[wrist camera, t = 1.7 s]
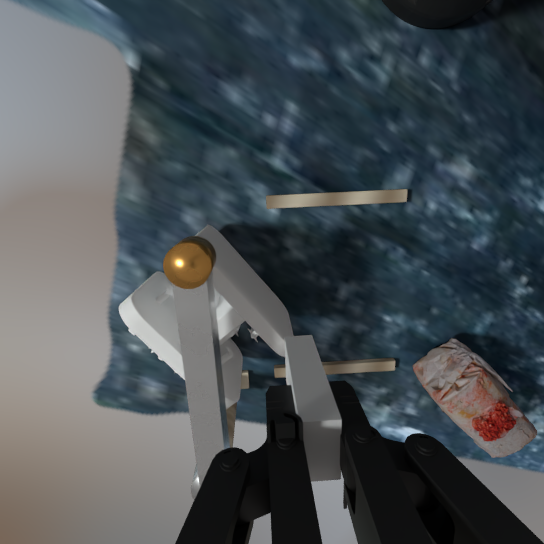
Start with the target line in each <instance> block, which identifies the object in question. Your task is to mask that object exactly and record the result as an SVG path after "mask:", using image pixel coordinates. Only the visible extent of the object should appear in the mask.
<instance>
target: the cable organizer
mask: <svg viewBox="0 0 544 544" xmlns="http://www.w3.org/2000/svg"><path fill="white" fill-rule="evenodd" d="M196 236H199V237H202V238H205V239H206V240H208V241H209V242H210V243H211V244H212V245H213V247H214V249H215V252H216V263H215V265H214V267H213V269H212V272H213V282H214V292H215V302H216V312H217V322H218V332H219V342H220V353H221V363H222V373H223V383H224V393H225V403H226V409H228V408H229V407H230V406H232V405H233V404H234V403H236V402H237V401H238V400H239V398H240V386H241V374H242V362H243V357H242V354H241V352H240V350H239V348H238V347H237V345H236V344H235V343H234V342H233V340H232V339H231V337H232V336H233V335H235V334H236V335H237V336H238V333H237V332H238V331H239V328H240V325H241V324H242V323H243V322H244V321H246V322H247V323H248V324H249V325H250V326H251V327H252V328H253V329H252V328H251V330H249V329H248V328H247V329H248V330H249V332H250V333H251V338H254V339H255V340H256V341H257V339H256V337H257V336H260V337H261V338H262V339H263V340H264V341H265V342H266V343H267V344H268V345H269V346H270V348H271V349H272V350H274V351H275V352H276V353H277V354H279V355H280V356H282V357H285V337H287V336H294V335H293V331H292V326H291V322H290V317H289V314H288V311H287V309H286V308H285V306H284V305H283V303H282V302H281V301H280V300H279V298H278V297H277V296H276V295H275V294H274V293H273V292H272V290H271V289H270V288H269V287H268V286H267V285H266V284H265V283H264V281H263V280H262V279H261V278H260V277H259V276H258V275H257V274H256V272H255V271H254V270H253V269H252V268H251V267H250V266H249V265H248V263H247V262H246V261H245V260H244V259H243V258H242V257H241V256H240V254H239V253H238V252H237V251H236V250H235V249H234V248H233V247H232V245H231V244H230V243H229V242H228V241H227V240H226V239H225V238H224V236H223V235H222V234H221V233H220V232H219V231H217V230H216V229H215V228H214V227H212V226H211V225H207V226H206V227H205V228H204V229H203V230H201V231H200V232H199V233H198V234H197V235H196ZM119 313H120V315H121V318H122V319H123V321H124V322H125V324H126V325H127V326H128V327H129V330H128V331H129V332H131V333H132V334H133V335H135V334H136V335H137V336H138V337H139V338H140V339H141V340H142V341H143V342H144V343H145V344H146V345H147V346H149V348H151V349H152V351H151V353H153V352H155V353H156V354H157V355H158V358H159V359H160V360H161V361H162V360H164V361H165V362H166V363H167V364H168V365H169V366H170V367H171V368H172V369H173V370H174V371H175V373H176V372H177V373H178V374H179V375H180V376H181V377H182V378H183V379H184V380H185V375H184V368H183V360H182V353H181V346H180V338H179V331H178V324H177V316H176V309H175V302H174V294H173V287H172V283H171V282H170V281H169V280H168V278H167V277H166V275H165V274H164V273H162V272H159V271H158V272H156V273H154V274H153V275H152V276H151V277H150V278H149V279H147V280H146V281H145V282H144V283H143V284H142V285H141V286H140V287H139V288H138V289H136V290H135V291H134V292H133V293H132V294H131V295H130V296H129V297H128V298H127V299H126V300H124V301H123V302H122V303H121V304H120V306H119ZM253 330H254V331H253ZM257 343H258V342H257Z"/></svg>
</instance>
